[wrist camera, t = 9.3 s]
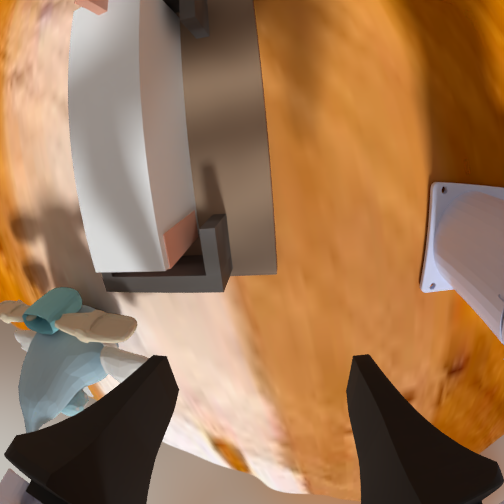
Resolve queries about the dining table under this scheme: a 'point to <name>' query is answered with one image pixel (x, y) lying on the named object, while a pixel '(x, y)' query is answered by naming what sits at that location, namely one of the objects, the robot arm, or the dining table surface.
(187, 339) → the dining table surface
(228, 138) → the cradle jig
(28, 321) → the toy figure
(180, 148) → the white rectangular block
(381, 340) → the dining table surface
